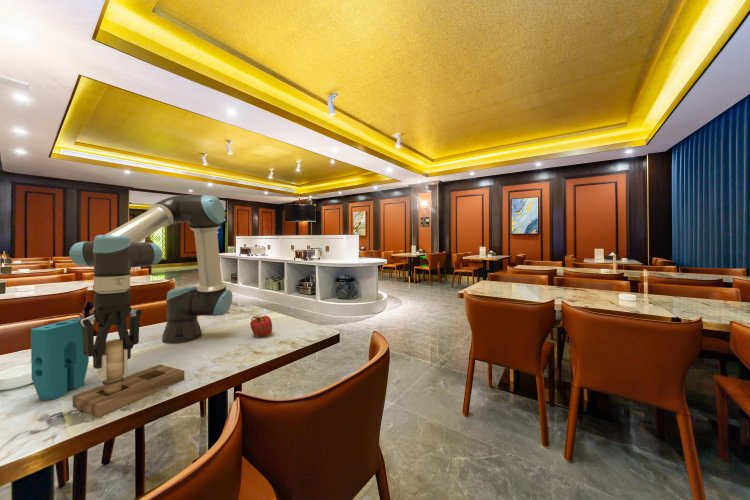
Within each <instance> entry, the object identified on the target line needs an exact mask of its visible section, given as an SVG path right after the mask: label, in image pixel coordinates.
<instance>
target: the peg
mask: <svg viewBox="0 0 750 500" xmlns="http://www.w3.org/2000/svg"><path fill="white" fill-rule="evenodd" d="M103 355H106V371H107V379H106V380H101V382H102V383H101V385H104V395H112V394H115V393H117V392H120V391H121V390H122V380H123V377H124V373H123V340H122V339H120V338H114V339H109V340H106V343H105V347H104V351H103Z"/></svg>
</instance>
